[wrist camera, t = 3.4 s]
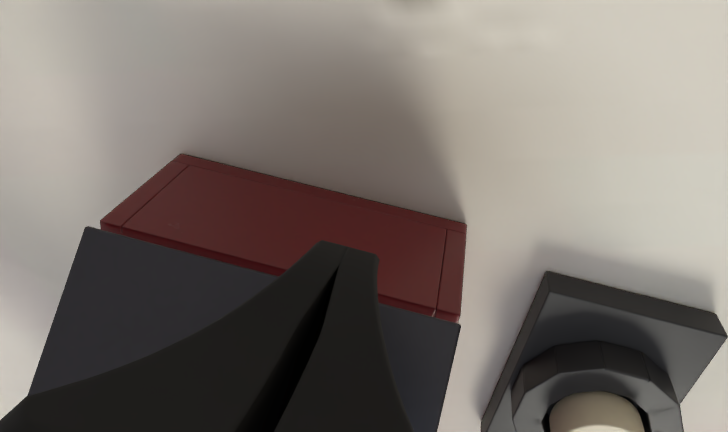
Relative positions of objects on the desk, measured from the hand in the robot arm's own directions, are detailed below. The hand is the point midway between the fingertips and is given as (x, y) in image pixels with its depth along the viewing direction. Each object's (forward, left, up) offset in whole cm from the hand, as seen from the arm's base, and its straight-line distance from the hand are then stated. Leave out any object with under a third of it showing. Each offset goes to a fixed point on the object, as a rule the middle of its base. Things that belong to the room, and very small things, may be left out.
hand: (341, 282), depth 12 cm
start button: (-10, -11, -8) cm, 17 cm away
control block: (-10, -11, -10) cm, 18 cm away
